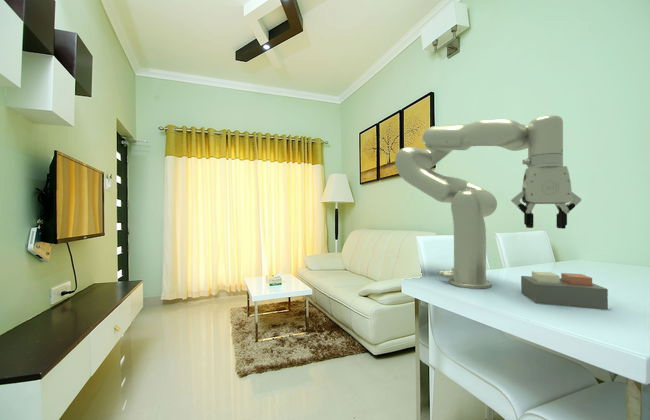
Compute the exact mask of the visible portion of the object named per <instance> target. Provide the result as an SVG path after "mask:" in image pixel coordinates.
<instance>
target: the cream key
mask: <svg viewBox="0 0 650 420" xmlns="http://www.w3.org/2000/svg"><path fill="white" fill-rule="evenodd" d="M531 276H532V279H533V280H535V281H536V282H539V283H554V284H559V278H560V275H558V274H555V273H553V272H552V271H551V272H550V271H535V270H534V271H531Z"/></svg>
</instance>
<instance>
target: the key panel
mask: <svg viewBox="0 0 650 420" xmlns="http://www.w3.org/2000/svg"><path fill="white" fill-rule="evenodd" d="M520 280H521V281H520V290H521V291H520V293H521V295H524V296H525V297H526V298H528V299H529V300H530V301H532V302H534V303H535V304H540V305H551V306H561V307H573V308H574V307H575V308H587V309H597V310H609V309H608V308H609V307H608V306H609V305H608V301H609V299H608V298H609V297H608V296H609V293H608V292H609V291H608V290H609V289H608V288H606V287H603V286H601V285H598V284H595V283H594V282H592V286H585V285H570V284H567V283H565V282H563V281H561V277H559V284H554V283H539V282H536V281H535V280H533V279H532V275H531V276H530V275H521V277H520Z"/></svg>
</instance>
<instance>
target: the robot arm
mask: <svg viewBox="0 0 650 420" xmlns="http://www.w3.org/2000/svg"><path fill="white" fill-rule="evenodd" d="M421 139H422V142H423V144H424V146H425V148H419V147H414V146H405V147H403V148H400V149H399V150H398V151H397V152H396V155H395V158H394V159H395V160H394V165H395V168H396V171H397V174H398V175H399V176H400V177H401V178H402V179H403V180H404V181H405V182H406V183H407V184H409V185H410V186H412V187H414V188H416V189H417V190H419V191H421V192H422V193H424V194H426V195H427V196H429V197H431V198H433V199H434V200H436V201H437V202H440V203H446V204H447V203H448V204H449V203H450V210H451V215H452V221H453V223H452V224H453V267H451V269H448V270H445V269H442V270H441V269H439V270H438V276H440V277H444V278H448V282H449V284H451V285H454V286H456V287H460V288H466V289H476V290H477V289H478V290H484V289H490V288H492V282H491V281H490V280H487V230H486V229H487V228H486V223H485V218H486V217H490V216H491V215H492V214H494V213H495V211H496V210H497V208H498V201H497V199H496V197H495V195H494V194H492V193H491V192H490V191H488V190H486V189H484V188H482V187H480V186H478V185H476V184H473V183H471V182H470V181H467V180H465V179H462V178H459V177H453V176H446V175H443V174H440V173H438V172H436V171H434V170H432V169H431V168H433V167H434V166H436V165H437V164H438V163H440V162H441V161H442V160H443V159H444V158H445V157H447V156H448V155H449V154H451V152H452V151H467V150H469V149H470V148H471V147H477V146H478V147H500V148H503V149H505V150H509V151H511V152H514V151H515V152H518V151H523V150H526V149H527V152H528V154H527V156H528V157H527V158H526V159H522V163H521V164H522V165H525V166H526V167H527V168H525V170H524V174H523V179H522V185H521V186H522V187H521V191H519V193H518V194H516V195H515V196H514V197H513V198H511V200H510V201H511V202H512V204H514V205H515V206H516V207H517V208H518V210H520V211H521V212H522V213H523V219H524V220H523V222H524V223H523V224H524V225H525V228H527V229H533V228H534V213H533V212H532V211H533V209H534V207H535V205H554V207H555V208H556V210H557V211H558V213H556V228H557V229H564V230H565V229H566V226H567V225H568V214H569V213H570V212H571V211H572V210H573V209H574V208H575V207H576V206H578V204H580V203H581V201H582V198H581V197H579V196H578V195H576V194H575V193H574V192H573V191H572V182H571V178H570V176H571V175H570V173H569V168H568V166H566V165H564V121H563V118H562V117H561V116H559V115H544V116H539V117H537V118H533V119H532V120H531V121H530V122H529V123H528V124H523V123H519V122H517V121H516V120H512V119H487V120H479V121H478V120H477V121H474V122H470V123H466V124H452V125H451V124H448V125H446V124H445V125H435V126H434V125H433V126H430V127H428V128H427V129H425V130H424V132H423V134H422V138H421ZM567 203H568V204H567Z"/></svg>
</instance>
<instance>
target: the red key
mask: <svg viewBox="0 0 650 420" xmlns="http://www.w3.org/2000/svg"><path fill="white" fill-rule="evenodd" d="M560 275H561V277H560V278H561V281H563V282H565V283H567V284H570V285H585V286H592V283H593V277H591V276H588V275H586V274H584V273H583V274H582V273H566V272H561V274H560Z"/></svg>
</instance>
